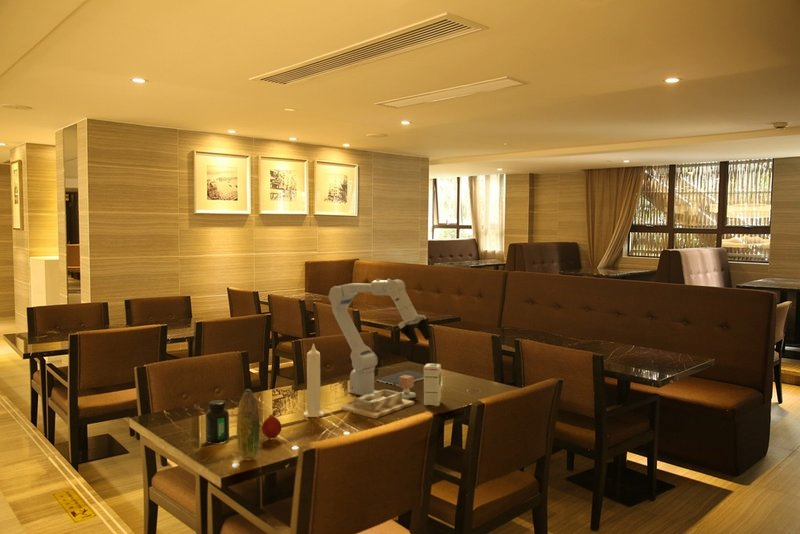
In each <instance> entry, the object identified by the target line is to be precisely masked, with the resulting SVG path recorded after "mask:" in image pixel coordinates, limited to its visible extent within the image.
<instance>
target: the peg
mask: <svg viewBox="0 0 800 534" xmlns="http://www.w3.org/2000/svg"><path fill="white" fill-rule="evenodd" d="M414 386H415V382H414V376H409V375H403V376H400V377H399V386H398V387H399V388H400V389H401V388H402V389H403V390H402V391H400V393H402V399H406V400H412V399H413V398H416V392H413V391H410V389H411V388H414Z"/></svg>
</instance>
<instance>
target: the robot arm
mask: <svg viewBox="0 0 800 534" xmlns="http://www.w3.org/2000/svg"><path fill="white" fill-rule="evenodd" d="M406 287H407V285H406V284H405V281H404V280H402V279H399V278H396V279H393V280H392V279H391V278H387V280H386V279H381V278H376V279H375V280H373V281H371V283H358V282H357V283H356V282H355V283H354V282H353V283H347V284H342V285H338V286H337V285H334V286H332V287H331V288H330V289H329V293H328V296H327V297H328V299H329V302H330V304H331V309H332V310H331V311H332V314H333V316H334V318H335V320H336V322H337V324H338V326H339V328H340V330H341V332H342V333H343V335H344V338H345V339H346V341H347V343H348V345H349V347H350V350H351V352H350V356H349V357H350V359H351V366H352V368H353V369H352V370H351V371H350V373H349V374H350V375H349V390H348V393H350V394H353V395H357V396H364V395H367V394H371V393H374V392H377V391H378V390H375V369H376V366H377V365H378V362H379V361H378V356H377V355H376V353H375V352H374V351H372V348H370V347H369V346H368V345H366V344H365V343H364V341H363V339H362V337H361V335H360V333H359V331H358V329H357V327H356V325H355V323H354V321H353V319H352V317H351V315H350V313H349V312H348V309H349V306H350V305H351V303H352V302H353V300H354V298H355V296H356V295H358V293H367V292H368V293H371V294H372V295H374V296H389V297H390V298H391V300H392V301H393V302H394V304H395V306H396V309H397V311H398V313H399V315H400V317H401V318H402V321H400V322H399V323H398V324H397V325H398V328H399V331H400V333H401V334H403V335H404V336H406V337H407V339H409V341H410V342H411V343H412V344H413V345H417V344H418V343H419V342H420V341H419V338H418V336H417V333H416V331H415V328H417V329H418V331H419V332H420V334H421V335H422V336H423V337H422V338H424V340H425V341H428V340H430V339H431V338H432V337H431V333H430V328H429V323H430V322H429V318H428V317H426V315H425V314H418V312H417V310H416V309H415V307H414V305H413V303H412V301H411V298H410V297H409V295H408V293H407V291H406ZM414 324H416V325H414Z"/></svg>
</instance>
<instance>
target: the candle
mask: <svg viewBox="0 0 800 534" xmlns="http://www.w3.org/2000/svg"><path fill="white" fill-rule="evenodd" d="M306 387H307V388H306V395H307V396H306V397H307V399H306V400H307V402H306V403H307V405H306V406H307V407H306V408H307V409H306V410H305V411H304V412H303V417H305V416H307V417H318V418H320V417H319V416H322V417H323V416H325V411H324V410H321V353H320V351H318V350H317V349H316V346H315V343H312V346H311V349H310V350H309V351H308V352H307V353H306ZM307 417H306V418H307Z"/></svg>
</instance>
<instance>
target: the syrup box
mask: <svg viewBox="0 0 800 534" xmlns="http://www.w3.org/2000/svg"><path fill="white" fill-rule="evenodd" d="M423 373H424V379H423V406H427V405H435V406H434V407H440V405H441V402H442V364H441V363H425V365H424V366H423Z"/></svg>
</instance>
